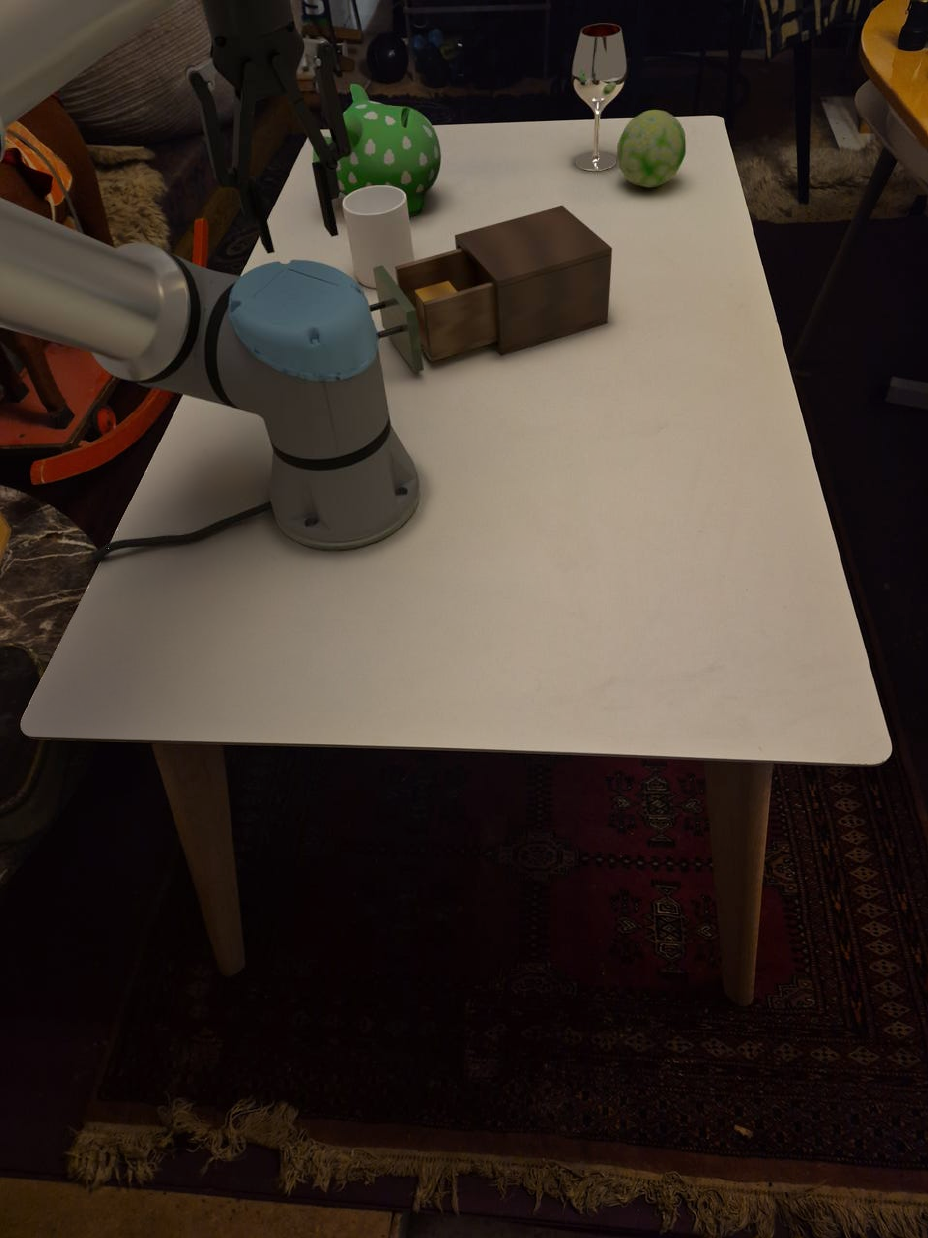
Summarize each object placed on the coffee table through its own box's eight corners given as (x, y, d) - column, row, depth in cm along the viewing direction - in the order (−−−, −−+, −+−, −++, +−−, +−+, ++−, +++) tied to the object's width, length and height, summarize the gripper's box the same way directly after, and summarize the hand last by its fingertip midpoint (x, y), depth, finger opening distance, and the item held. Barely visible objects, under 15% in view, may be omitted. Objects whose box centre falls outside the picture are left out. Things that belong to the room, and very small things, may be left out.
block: (431, 340, 103) (427, 307, 100) (418, 323, 106) (414, 290, 102) (464, 330, 104) (462, 297, 101) (451, 313, 107) (448, 280, 103)
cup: (348, 288, 116) (334, 213, 108) (371, 245, 124) (359, 172, 116) (407, 290, 115) (397, 214, 107) (427, 246, 122) (419, 172, 114)
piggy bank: (334, 188, 137) (315, 83, 125) (447, 181, 135) (438, 74, 124) (321, 231, 128) (299, 122, 116) (442, 224, 126) (431, 113, 115)
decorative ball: (684, 197, 126) (693, 124, 118) (616, 200, 127) (620, 127, 119) (679, 168, 132) (687, 96, 124) (613, 171, 133) (617, 100, 125)
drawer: (379, 383, 100) (369, 323, 94) (349, 335, 107) (338, 277, 101) (518, 340, 104) (516, 280, 98) (480, 297, 111) (476, 238, 105)
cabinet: (500, 355, 103) (497, 281, 96) (460, 307, 111) (454, 234, 104) (607, 322, 106) (612, 247, 99) (561, 277, 114) (562, 204, 107)
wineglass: (607, 177, 132) (614, 42, 118) (560, 168, 135) (561, 36, 121) (630, 156, 136) (639, 23, 122) (583, 148, 139) (587, 18, 126)
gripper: (134, 6, 69) (218, 278, 86) (360, -40, 72) (397, 230, 90) (120, -16, 73) (203, 247, 91) (334, -58, 77) (374, 202, 95)
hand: (299, 238), depth 90 cm, fingers open, 6 cm apart
